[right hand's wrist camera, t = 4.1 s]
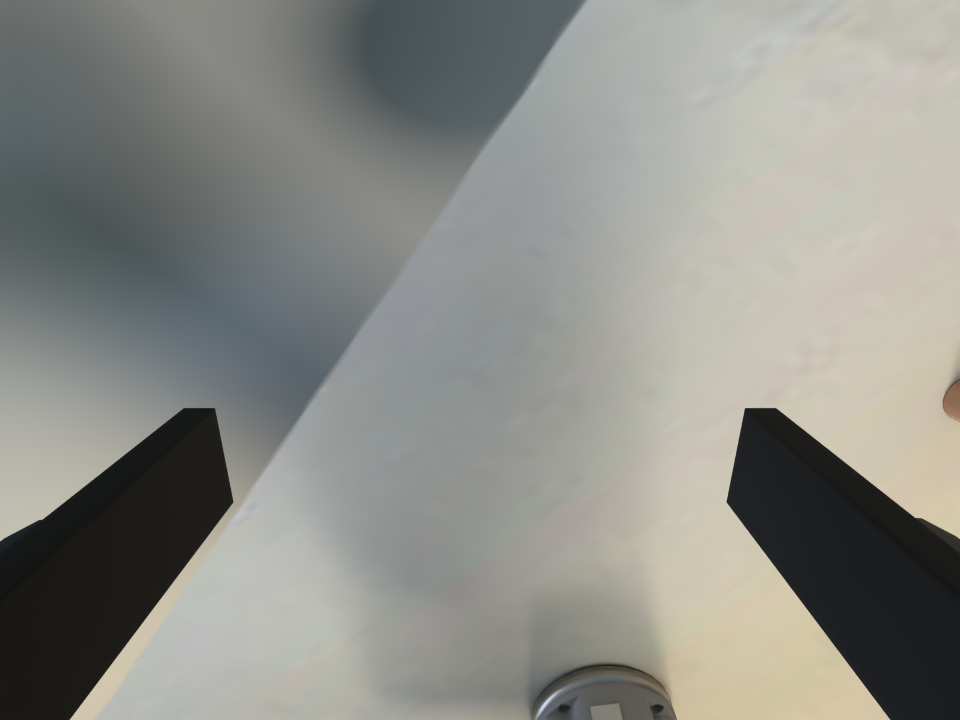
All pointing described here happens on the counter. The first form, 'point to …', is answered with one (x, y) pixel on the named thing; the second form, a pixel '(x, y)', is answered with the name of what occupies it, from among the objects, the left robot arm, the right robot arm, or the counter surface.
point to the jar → (953, 401)
